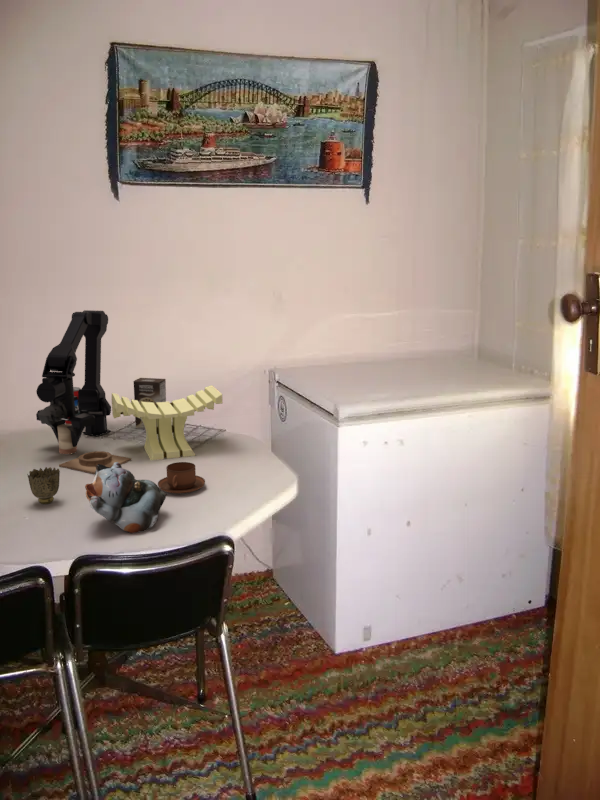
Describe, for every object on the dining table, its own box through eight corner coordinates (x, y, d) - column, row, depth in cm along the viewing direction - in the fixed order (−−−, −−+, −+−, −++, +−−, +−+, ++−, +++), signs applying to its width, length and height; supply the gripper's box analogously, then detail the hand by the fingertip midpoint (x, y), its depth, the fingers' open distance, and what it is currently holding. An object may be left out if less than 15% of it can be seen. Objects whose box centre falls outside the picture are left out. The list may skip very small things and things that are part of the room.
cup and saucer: (206, 496, 188) (205, 472, 187) (157, 499, 186) (156, 475, 185) (204, 480, 200) (203, 457, 198) (158, 482, 198) (157, 460, 196)
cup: (37, 496, 187) (34, 466, 185) (66, 497, 187) (63, 466, 185) (25, 508, 180) (22, 476, 178) (55, 508, 180) (53, 476, 178)
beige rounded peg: (68, 448, 226) (66, 422, 225) (80, 450, 224) (78, 425, 222) (55, 452, 222) (53, 427, 220) (68, 455, 220) (65, 429, 218)
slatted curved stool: (211, 438, 237) (209, 383, 233) (223, 452, 222) (222, 394, 218) (114, 447, 227) (110, 390, 223) (120, 463, 212) (117, 402, 208)
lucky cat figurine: (148, 537, 163) (109, 482, 158) (102, 551, 169) (62, 498, 163) (176, 491, 177) (141, 439, 172) (132, 505, 183) (97, 455, 177)
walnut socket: (95, 453, 222) (94, 446, 221) (131, 460, 215) (130, 453, 214) (59, 466, 210) (58, 459, 209) (96, 474, 203) (95, 467, 203)
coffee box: (135, 428, 247) (132, 381, 243) (142, 423, 253) (139, 377, 249) (161, 430, 246) (159, 382, 242) (168, 424, 252) (165, 377, 248)
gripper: (19, 396, 216) (24, 447, 220) (65, 403, 208) (70, 457, 211) (49, 388, 226) (53, 438, 230) (94, 395, 217) (98, 447, 221)
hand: (67, 445), depth 223 cm, fingers open, 5 cm apart
